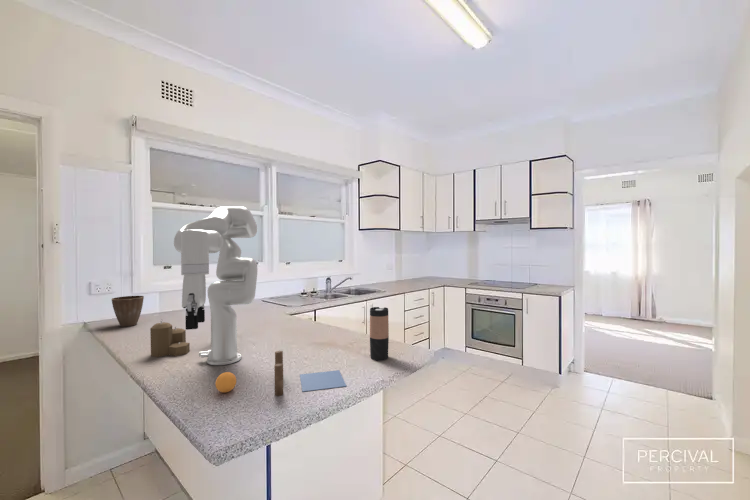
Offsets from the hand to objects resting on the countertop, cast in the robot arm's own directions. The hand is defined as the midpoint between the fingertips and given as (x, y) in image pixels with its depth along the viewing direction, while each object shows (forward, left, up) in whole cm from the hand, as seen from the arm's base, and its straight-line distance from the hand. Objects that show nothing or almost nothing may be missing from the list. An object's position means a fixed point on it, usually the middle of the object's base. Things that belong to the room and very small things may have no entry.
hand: (195, 325), depth 103 cm
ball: (+9, -1, -18) cm, 20 cm away
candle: (-21, +47, -22) cm, 56 cm away
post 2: (+25, -7, -21) cm, 33 cm away
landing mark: (+39, -1, -21) cm, 44 cm away
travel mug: (+64, +15, -22) cm, 69 cm away
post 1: (+25, +6, -21) cm, 33 cm away
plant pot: (-58, +108, -22) cm, 125 cm away
